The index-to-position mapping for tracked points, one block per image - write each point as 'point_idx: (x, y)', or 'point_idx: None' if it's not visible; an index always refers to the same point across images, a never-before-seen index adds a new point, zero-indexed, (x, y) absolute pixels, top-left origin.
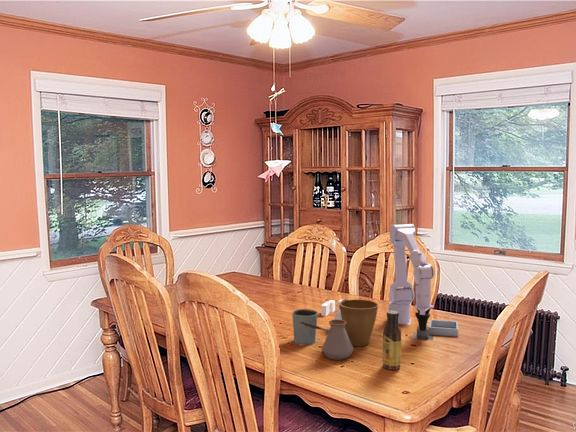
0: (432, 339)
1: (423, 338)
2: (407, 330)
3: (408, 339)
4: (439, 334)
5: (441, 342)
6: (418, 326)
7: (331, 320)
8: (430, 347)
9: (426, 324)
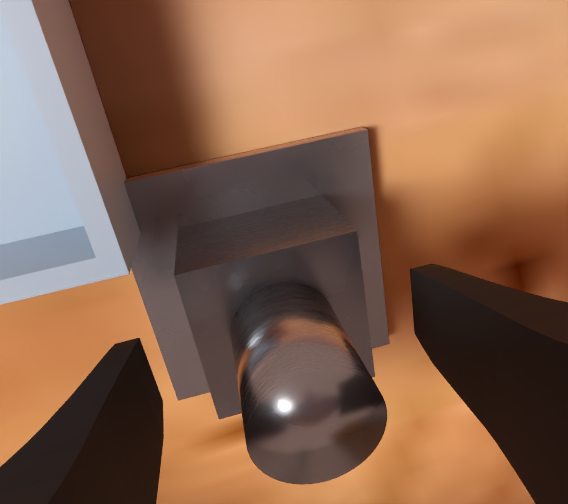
0: (336, 142)
1: None
2: None
3: None
4: (94, 96)
5: (344, 13)
6: (231, 402)
7: None
8: (555, 106)
9: (521, 291)
